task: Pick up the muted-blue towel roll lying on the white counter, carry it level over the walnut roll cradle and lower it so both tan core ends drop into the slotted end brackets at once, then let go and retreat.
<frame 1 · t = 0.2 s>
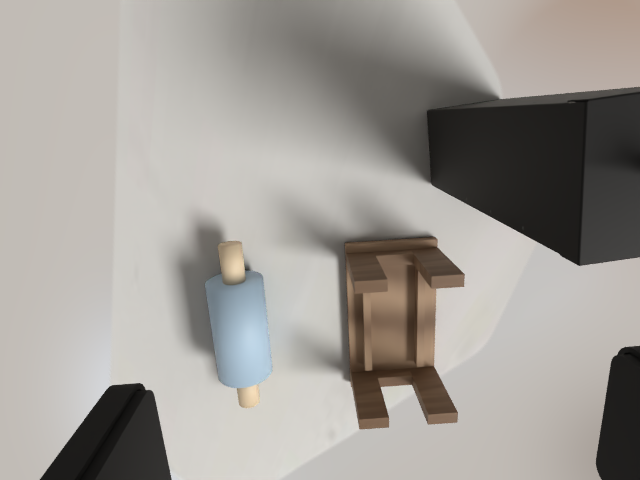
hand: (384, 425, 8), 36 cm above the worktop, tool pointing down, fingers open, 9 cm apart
roll: (244, 314, 48), on the worktop
tall black box: (465, 142, 43), on the worktop
holder: (390, 313, 48), on the worktop
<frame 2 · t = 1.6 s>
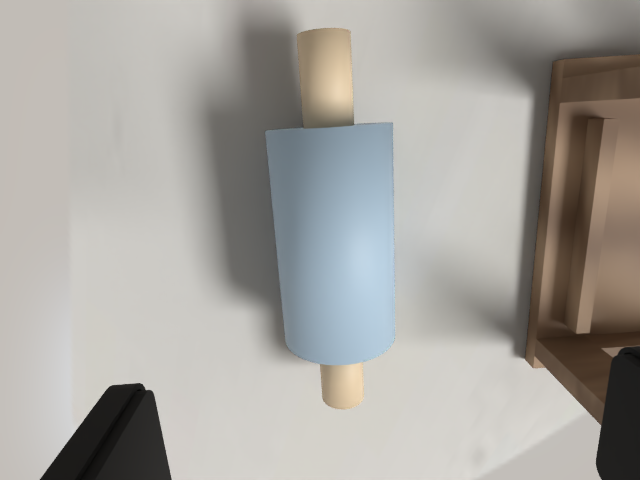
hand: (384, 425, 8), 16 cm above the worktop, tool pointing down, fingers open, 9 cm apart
roll: (333, 223, 24), on the worktop
holder: (621, 220, 24), on the worktop
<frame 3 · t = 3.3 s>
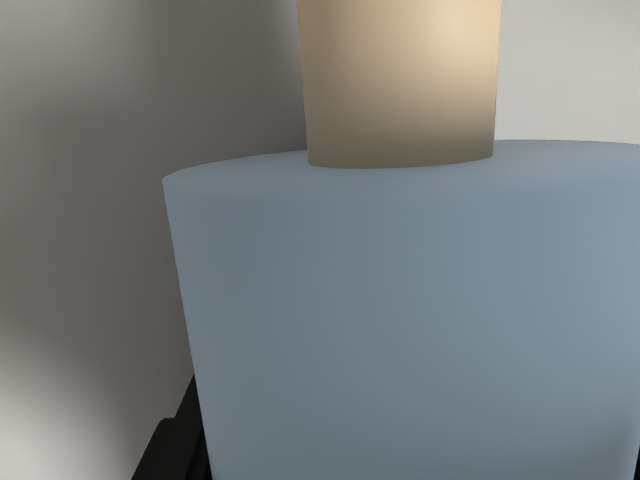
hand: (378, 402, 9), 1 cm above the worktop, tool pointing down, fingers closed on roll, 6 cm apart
roll: (374, 376, 10), on the worktop, touching gripper
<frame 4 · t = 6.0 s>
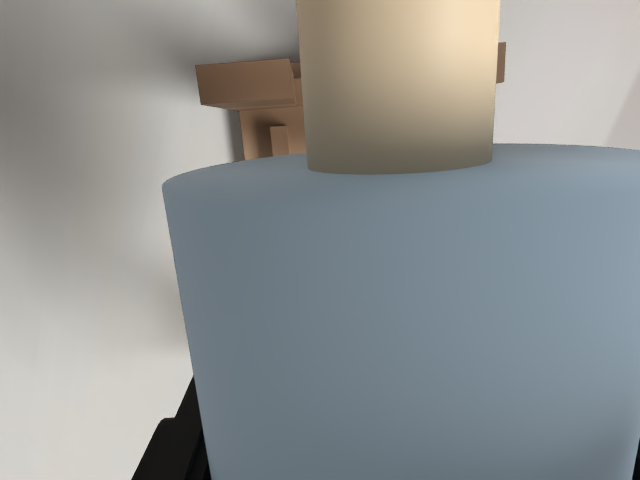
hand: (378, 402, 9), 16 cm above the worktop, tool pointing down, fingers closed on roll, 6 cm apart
roll: (374, 378, 10), point 15 cm above the worktop, touching gripper
holder: (341, 228, 24), on the worktop
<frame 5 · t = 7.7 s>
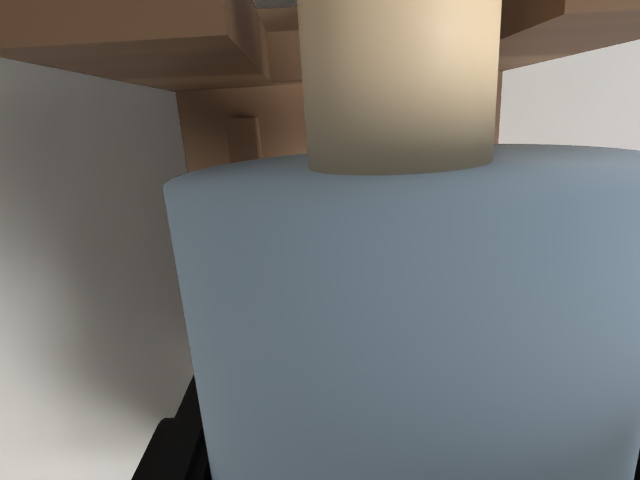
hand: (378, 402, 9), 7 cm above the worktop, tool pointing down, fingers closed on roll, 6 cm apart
roll: (374, 379, 10), point 6 cm above the worktop, touching gripper
holder: (346, 279, 15), on the worktop
when the fingers open (3 cm above the worktop, at t = 8.9 s): roll drops 1 cm, resting on holder.
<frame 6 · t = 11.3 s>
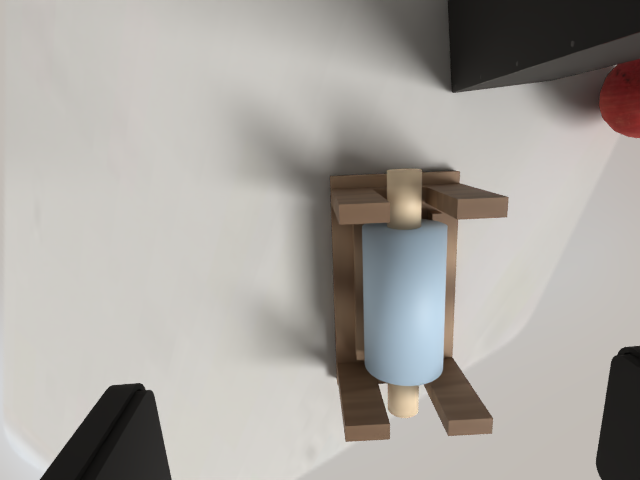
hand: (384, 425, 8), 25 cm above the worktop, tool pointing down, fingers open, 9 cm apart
onion: (609, 99, 32), on the worktop
roll: (395, 284, 34), point 1 cm above the worktop, touching holder
tall black box: (499, 33, 31), on the worktop
holder: (392, 280, 35), on the worktop
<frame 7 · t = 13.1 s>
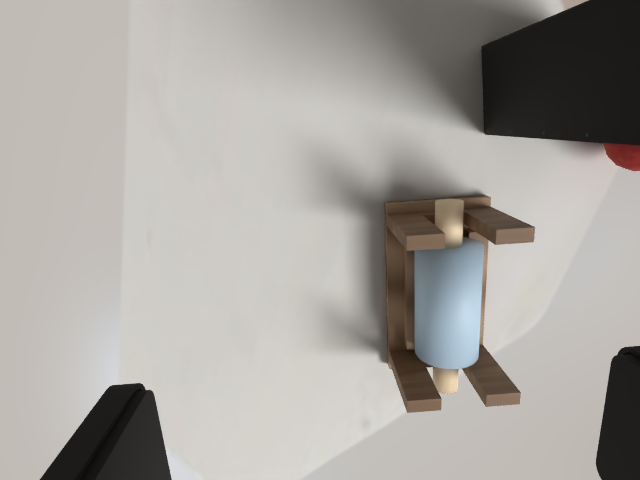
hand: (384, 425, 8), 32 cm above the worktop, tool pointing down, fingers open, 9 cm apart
onion: (612, 135, 39), on the worktop
roll: (437, 287, 42), point 1 cm above the worktop, touching holder
tall black box: (523, 85, 38), on the worktop
holder: (434, 284, 43), on the worktop
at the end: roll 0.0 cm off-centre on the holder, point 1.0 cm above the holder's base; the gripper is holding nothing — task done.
